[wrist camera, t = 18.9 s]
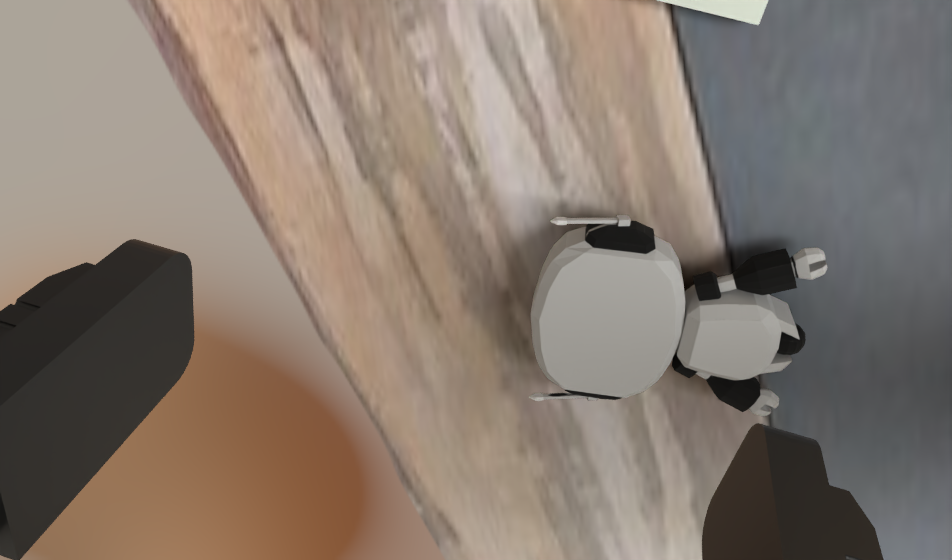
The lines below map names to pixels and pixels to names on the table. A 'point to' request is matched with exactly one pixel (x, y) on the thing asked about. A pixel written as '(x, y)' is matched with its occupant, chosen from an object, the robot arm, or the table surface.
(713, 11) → the board
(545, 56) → the table surface
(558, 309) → the robot toy
